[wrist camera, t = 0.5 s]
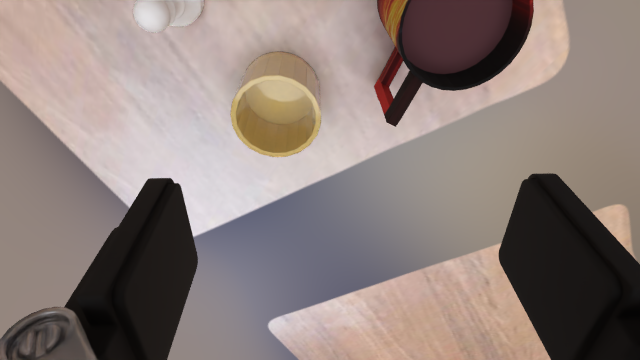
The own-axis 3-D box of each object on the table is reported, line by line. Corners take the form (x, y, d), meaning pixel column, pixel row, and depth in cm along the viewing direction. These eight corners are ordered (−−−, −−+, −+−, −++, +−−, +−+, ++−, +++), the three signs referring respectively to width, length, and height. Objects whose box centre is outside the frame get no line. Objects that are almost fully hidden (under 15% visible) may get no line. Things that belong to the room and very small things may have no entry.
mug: (372, 86, 44) (389, 139, 34) (379, -60, 36) (404, -46, 26) (460, 83, 44) (502, 135, 34) (486, -64, 36) (551, -51, 26)
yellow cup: (236, 53, 42) (223, 77, 36) (318, 50, 42) (319, 73, 36) (247, 127, 47) (238, 158, 41) (321, 124, 47) (322, 155, 41)
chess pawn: (182, 33, 41) (153, 63, 33) (140, -7, 39) (99, 14, 31) (215, -1, 39) (192, 21, 32) (173, -46, 37) (138, -33, 29)
